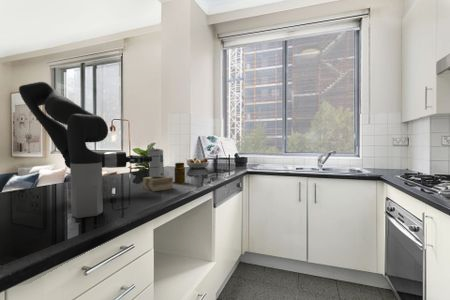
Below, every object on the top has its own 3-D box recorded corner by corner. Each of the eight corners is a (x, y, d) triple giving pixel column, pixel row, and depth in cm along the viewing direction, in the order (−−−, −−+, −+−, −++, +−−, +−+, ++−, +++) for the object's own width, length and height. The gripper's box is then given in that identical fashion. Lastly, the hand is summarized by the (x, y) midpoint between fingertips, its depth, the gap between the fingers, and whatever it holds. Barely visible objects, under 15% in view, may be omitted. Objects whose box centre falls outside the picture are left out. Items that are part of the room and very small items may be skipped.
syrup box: (160, 176, 122) (160, 148, 123) (148, 177, 123) (149, 148, 124) (163, 176, 128) (163, 149, 129) (153, 176, 128) (153, 149, 130)
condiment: (187, 183, 142) (187, 162, 141) (175, 184, 136) (175, 163, 135) (180, 181, 147) (180, 162, 147) (168, 183, 141) (168, 163, 141)
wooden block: (172, 188, 126) (172, 177, 125) (153, 192, 118) (153, 179, 118) (161, 186, 133) (161, 175, 133) (142, 189, 125) (142, 177, 125)
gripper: (116, 152, 108) (153, 151, 116) (114, 151, 121) (147, 150, 128) (116, 169, 108) (153, 167, 116) (114, 166, 121) (147, 164, 129)
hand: (150, 158), depth 122 cm, fingers open, 8 cm apart
